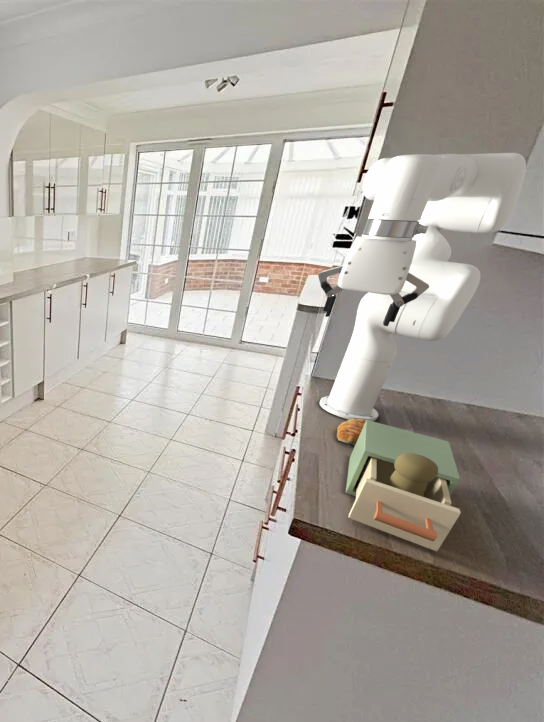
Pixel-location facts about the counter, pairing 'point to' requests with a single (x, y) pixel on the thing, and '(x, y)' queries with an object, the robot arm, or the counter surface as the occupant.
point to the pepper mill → (413, 473)
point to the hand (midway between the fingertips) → (355, 319)
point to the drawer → (403, 506)
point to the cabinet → (399, 452)
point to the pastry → (350, 431)
